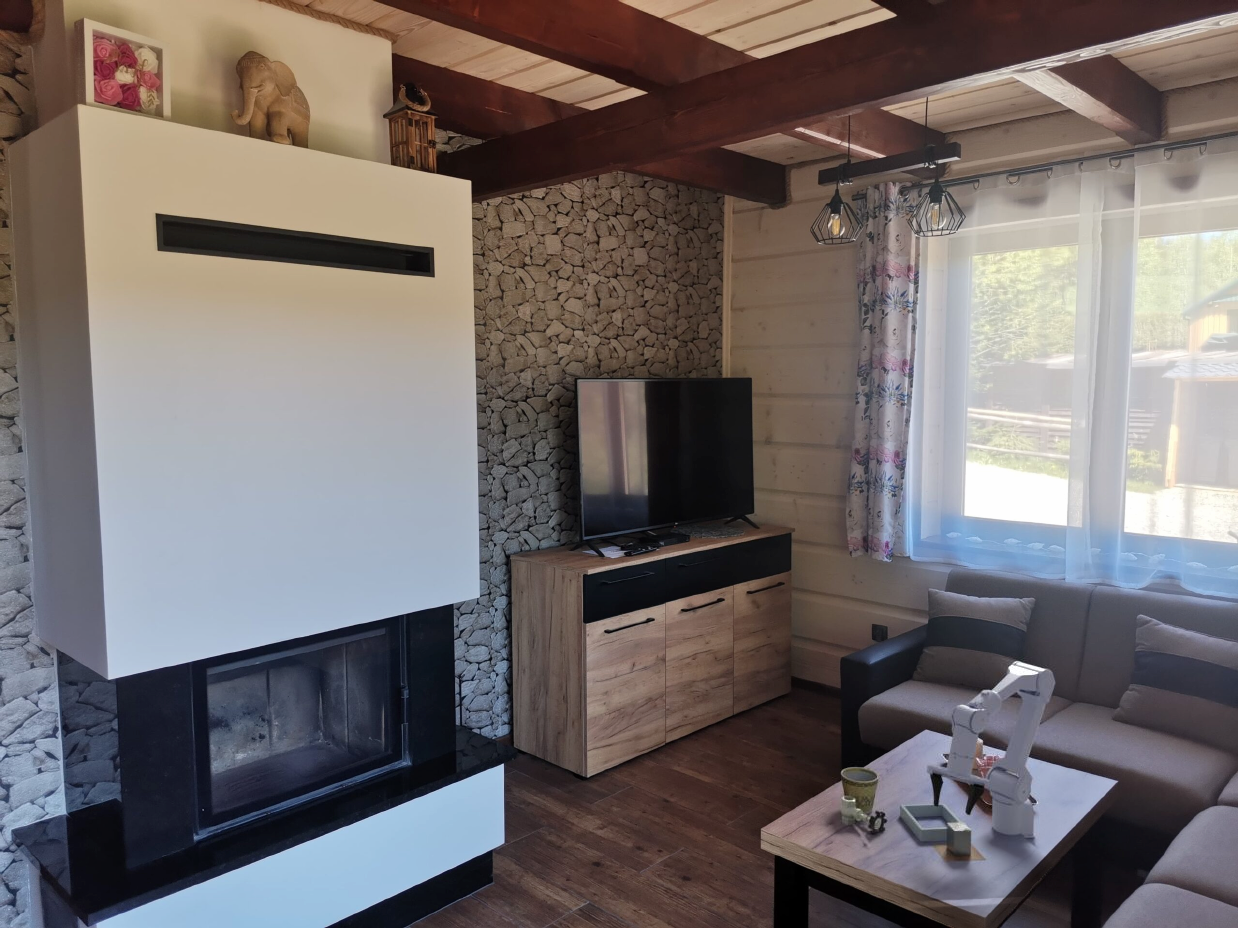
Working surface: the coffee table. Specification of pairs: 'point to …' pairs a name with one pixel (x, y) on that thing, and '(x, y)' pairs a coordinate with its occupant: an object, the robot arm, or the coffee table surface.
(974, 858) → the stud block
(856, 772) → the ceramic cup
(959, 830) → the grey rectangular block
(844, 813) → the valve
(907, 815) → the bin
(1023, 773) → the robot arm
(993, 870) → the coffee table surface
